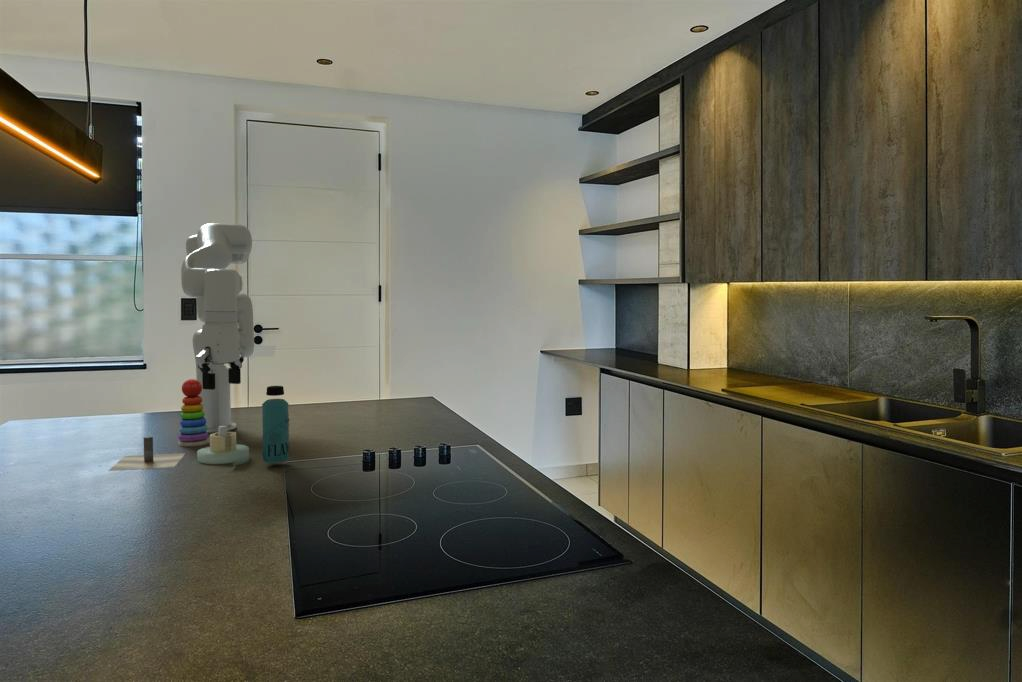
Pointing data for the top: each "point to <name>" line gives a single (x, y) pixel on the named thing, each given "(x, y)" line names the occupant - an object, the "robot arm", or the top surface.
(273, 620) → the top surface
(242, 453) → the sage hub
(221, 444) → the brass ring
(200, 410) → the stacking toy
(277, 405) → the beverage bottle
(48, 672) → the top surface
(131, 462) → the oak stand
